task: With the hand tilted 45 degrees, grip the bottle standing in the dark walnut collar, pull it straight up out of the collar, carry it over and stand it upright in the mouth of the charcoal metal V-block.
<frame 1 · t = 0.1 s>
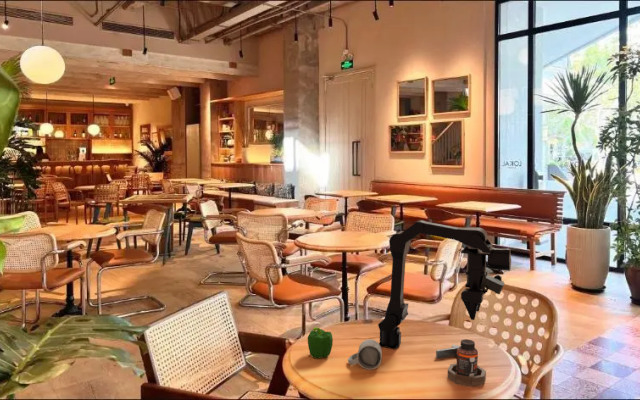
hand: (474, 315, 165), 15 cm above the table, tool pointing down, fingers open, 9 cm apart
ceramic mug: (365, 365, 162), on the table
bell pepper: (319, 356, 169), on the table
supplement bottle: (466, 379, 153), resting in walnut collar
walnut collar: (466, 378, 153), on the table
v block: (454, 361, 165), on the table
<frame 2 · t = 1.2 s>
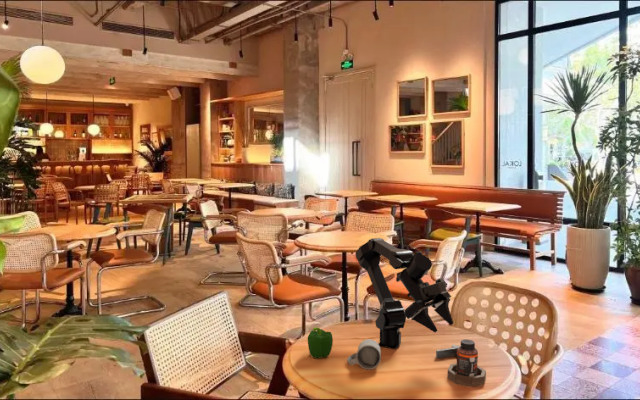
hand: (444, 327, 157), 13 cm above the table, tool tilted 45°, fingers open, 9 cm apart
nothing on the table moved.
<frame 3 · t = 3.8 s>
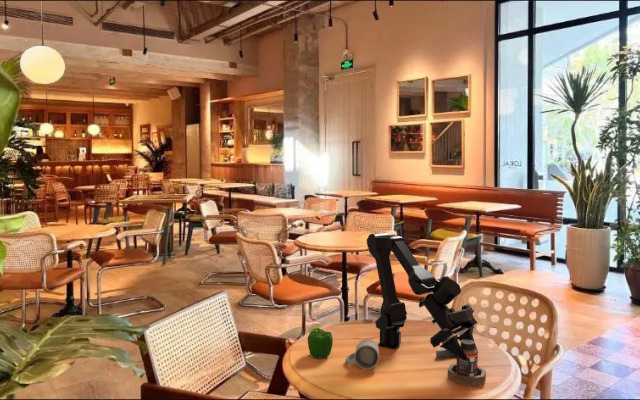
hand: (471, 356, 151), 7 cm above the table, tool tilted 45°, fingers closed on supplement bottle, 6 cm apart
supplement bottle: (466, 379, 153), resting in walnut collar, touching gripper
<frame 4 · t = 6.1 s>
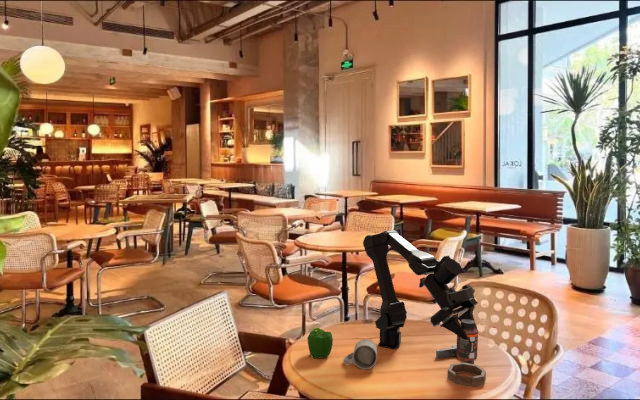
hand: (471, 336, 151), 13 cm above the table, tool tilted 45°, fingers closed on supplement bottle, 6 cm apart
supplement bottle: (466, 358, 152), point 6 cm above the table, touching gripper
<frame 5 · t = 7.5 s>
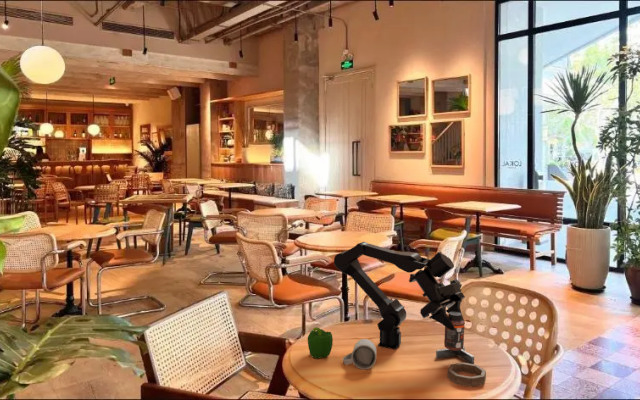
hand: (458, 327, 163), 12 cm above the table, tool tilted 45°, fingers closed on supplement bottle, 6 cm apart
supplement bottle: (453, 348, 164), point 4 cm above the table, touching gripper
when the fingers open (8 cm above the table, at t = 8.6 s): supplement bottle drops 1 cm, on the table.
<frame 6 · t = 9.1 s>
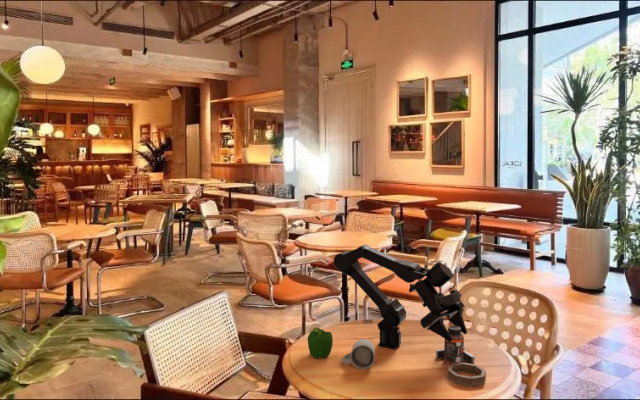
hand: (458, 337, 163), 9 cm above the table, tool tilted 45°, fingers open, 9 cm apart
supplement bottle: (453, 362, 165), on the table
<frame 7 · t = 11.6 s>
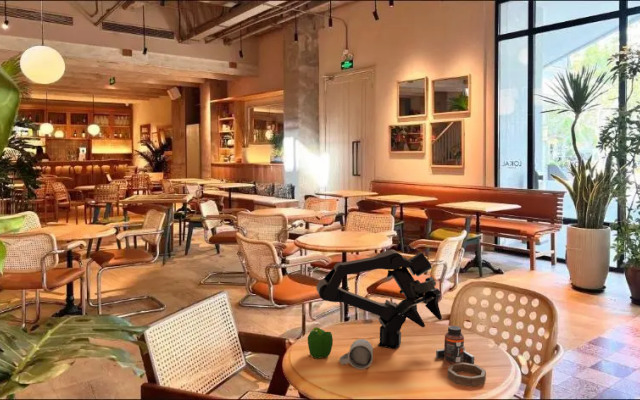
hand: (432, 323, 169), 11 cm above the table, tool tilted 45°, fingers open, 9 cm apart
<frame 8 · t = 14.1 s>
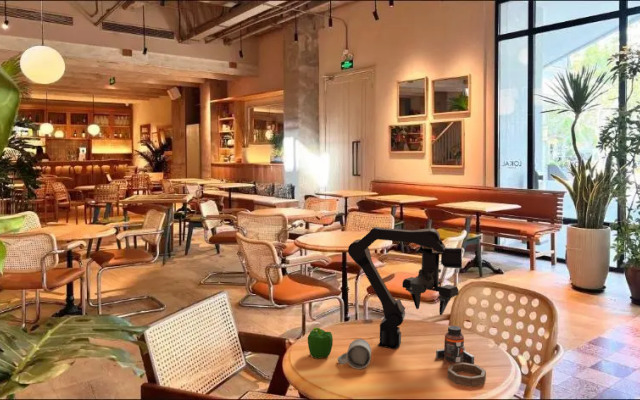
hand: (429, 311, 174), 13 cm above the table, tool pointing down, fingers open, 9 cm apart
at the end: supplement bottle 0.3 cm off-centre on the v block, point 0.0 cm above the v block's base; supplement bottle tilted 0°; the gripper is holding nothing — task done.
